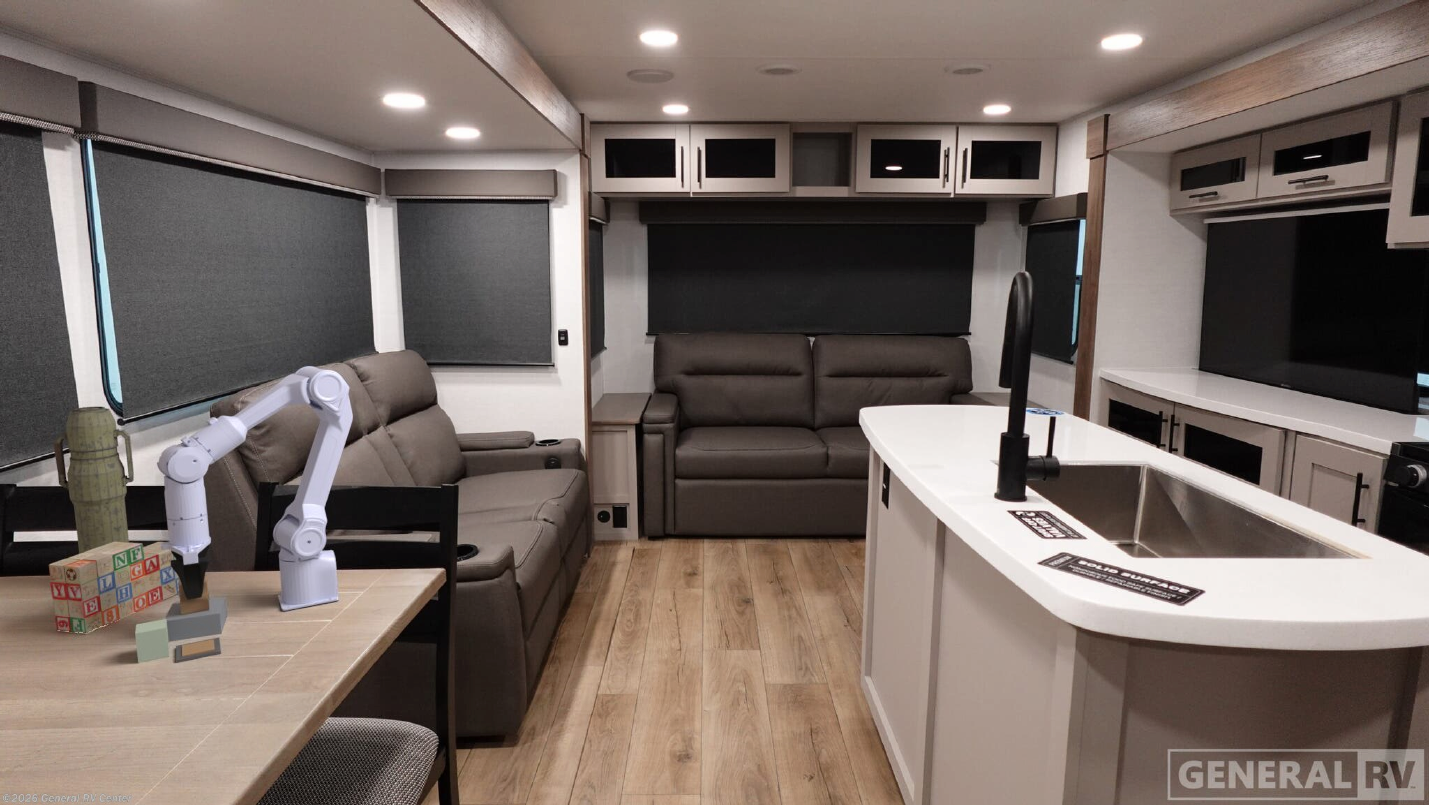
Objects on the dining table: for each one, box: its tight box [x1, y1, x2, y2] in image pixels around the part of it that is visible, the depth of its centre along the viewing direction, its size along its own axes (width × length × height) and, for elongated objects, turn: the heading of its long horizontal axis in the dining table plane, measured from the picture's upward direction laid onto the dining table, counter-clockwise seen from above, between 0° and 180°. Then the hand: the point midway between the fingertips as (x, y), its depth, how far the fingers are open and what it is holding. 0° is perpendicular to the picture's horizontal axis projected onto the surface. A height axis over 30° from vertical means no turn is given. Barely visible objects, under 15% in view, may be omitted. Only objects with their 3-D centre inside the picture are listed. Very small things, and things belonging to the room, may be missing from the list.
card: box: [175, 637, 222, 664], centre depth 130 cm, size 6×6×1 cm
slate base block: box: [164, 596, 228, 642], centre depth 138 cm, size 8×8×4 cm
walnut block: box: [178, 574, 210, 615], centre depth 137 cm, size 4×4×5 cm
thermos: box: [52, 406, 135, 554], centre depth 156 cm, size 9×12×35 cm
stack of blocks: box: [48, 541, 179, 633], centre depth 146 cm, size 21×6×12 cm, turn 169°
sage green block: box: [134, 618, 170, 664], centre depth 128 cm, size 4×4×5 cm
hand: (194, 592), depth 137 cm, fingers open, 5 cm apart
